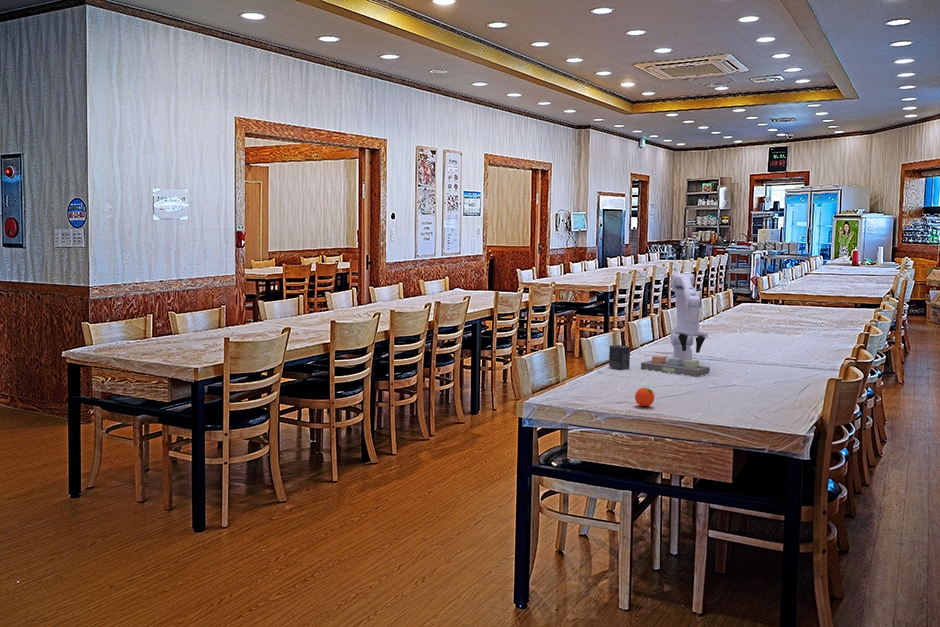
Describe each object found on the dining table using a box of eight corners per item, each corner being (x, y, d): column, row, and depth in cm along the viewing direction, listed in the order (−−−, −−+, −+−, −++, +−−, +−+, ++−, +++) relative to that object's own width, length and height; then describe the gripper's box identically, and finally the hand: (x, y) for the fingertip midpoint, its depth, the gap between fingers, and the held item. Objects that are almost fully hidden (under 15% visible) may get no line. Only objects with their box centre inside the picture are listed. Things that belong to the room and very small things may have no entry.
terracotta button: (656, 364, 386) (657, 355, 386) (666, 365, 383) (666, 356, 382) (651, 365, 382) (652, 356, 382) (661, 366, 379) (661, 357, 379)
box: (629, 369, 382) (630, 346, 380) (621, 370, 378) (622, 347, 377) (616, 366, 388) (617, 344, 386) (608, 367, 384) (609, 345, 383)
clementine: (660, 407, 300) (660, 387, 300) (650, 410, 295) (651, 390, 295) (640, 403, 306) (641, 384, 305) (630, 406, 301) (631, 387, 300)
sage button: (688, 368, 376) (689, 359, 375) (698, 369, 372) (699, 360, 372) (683, 369, 372) (684, 360, 372) (693, 371, 369) (694, 361, 368)
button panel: (653, 366, 391) (653, 359, 391) (709, 373, 373) (709, 367, 373) (640, 369, 382) (640, 362, 382) (697, 377, 364) (697, 370, 363)
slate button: (672, 366, 381) (673, 357, 380) (682, 367, 378) (682, 358, 377) (667, 367, 377) (668, 358, 377) (677, 368, 374) (677, 359, 374)
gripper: (673, 321, 375) (672, 350, 377) (703, 324, 366) (702, 354, 367) (680, 320, 381) (679, 349, 382) (710, 322, 371) (709, 352, 373)
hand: (690, 351), depth 375 cm, fingers open, 6 cm apart
